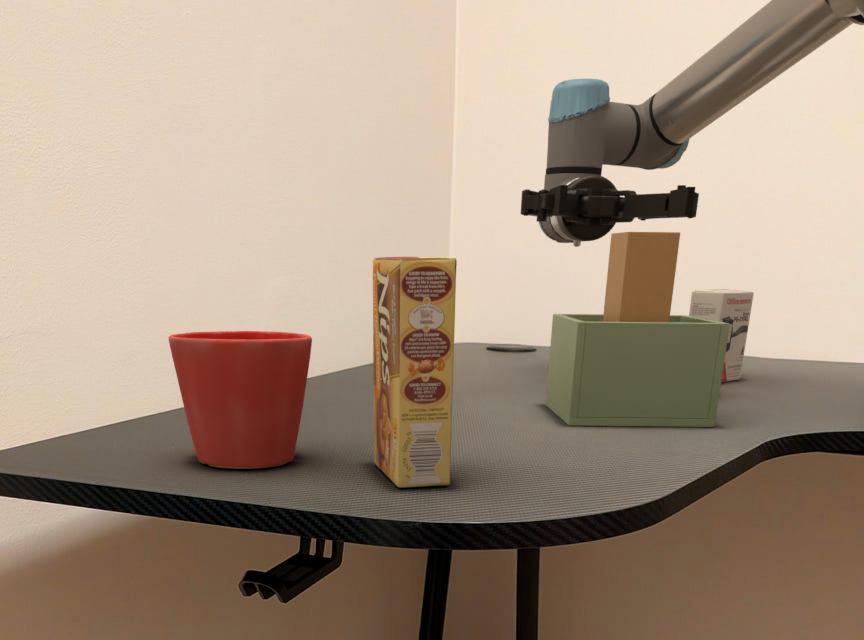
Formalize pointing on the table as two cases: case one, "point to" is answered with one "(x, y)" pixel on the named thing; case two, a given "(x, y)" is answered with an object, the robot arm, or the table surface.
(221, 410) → the flower pot
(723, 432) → the table surface
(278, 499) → the table surface
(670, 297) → the block
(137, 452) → the table surface
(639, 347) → the storage bin
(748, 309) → the ink box
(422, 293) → the candy box
